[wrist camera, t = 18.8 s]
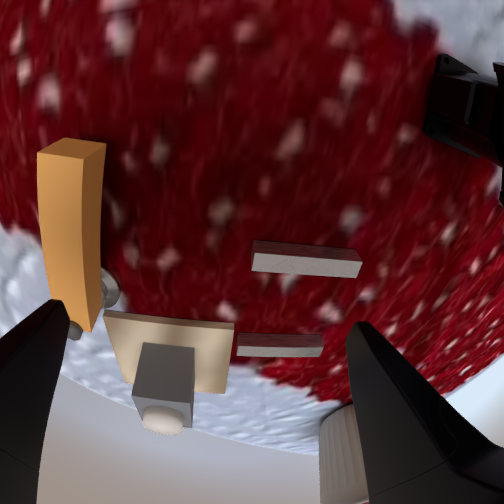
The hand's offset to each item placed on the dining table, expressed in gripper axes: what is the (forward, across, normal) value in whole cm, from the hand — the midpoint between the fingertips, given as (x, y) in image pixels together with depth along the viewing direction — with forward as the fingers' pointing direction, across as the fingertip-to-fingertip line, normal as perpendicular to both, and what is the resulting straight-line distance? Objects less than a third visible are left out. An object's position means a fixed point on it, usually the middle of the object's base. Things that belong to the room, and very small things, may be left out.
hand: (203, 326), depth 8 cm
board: (+12, +4, +19) cm, 23 cm away
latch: (+10, +10, +4) cm, 14 cm away
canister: (+12, -23, +36) cm, 45 cm away
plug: (+11, +4, +19) cm, 23 cm away
